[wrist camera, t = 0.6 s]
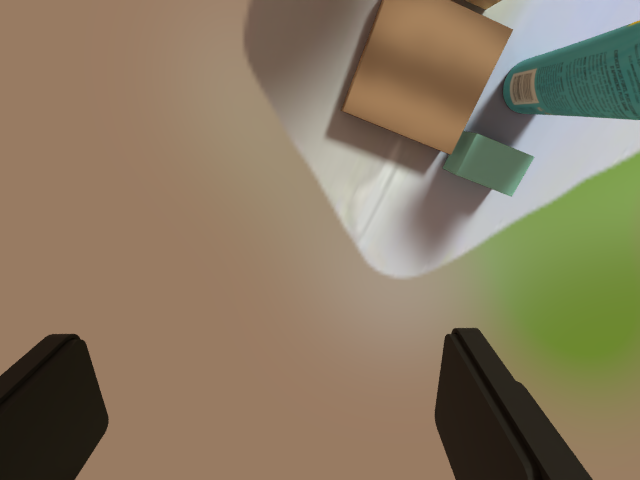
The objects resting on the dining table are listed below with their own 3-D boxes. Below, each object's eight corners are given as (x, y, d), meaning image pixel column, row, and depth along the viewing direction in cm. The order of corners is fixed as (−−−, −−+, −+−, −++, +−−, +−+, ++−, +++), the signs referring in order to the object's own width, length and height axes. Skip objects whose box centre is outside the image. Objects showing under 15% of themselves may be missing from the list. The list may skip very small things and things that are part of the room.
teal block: (442, 168, 37) (456, 174, 33) (460, 130, 36) (477, 133, 32) (492, 187, 38) (511, 196, 34) (512, 151, 36) (534, 156, 33)
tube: (567, 99, 35) (839, 91, 17) (523, 133, 36) (734, 160, 18) (529, 33, 33) (792, -58, 15) (484, 71, 34) (677, 31, 16)
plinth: (387, -14, 31) (394, -26, 28) (496, 36, 33) (513, 29, 30) (340, 110, 35) (343, 110, 32) (440, 150, 36) (451, 154, 33)
